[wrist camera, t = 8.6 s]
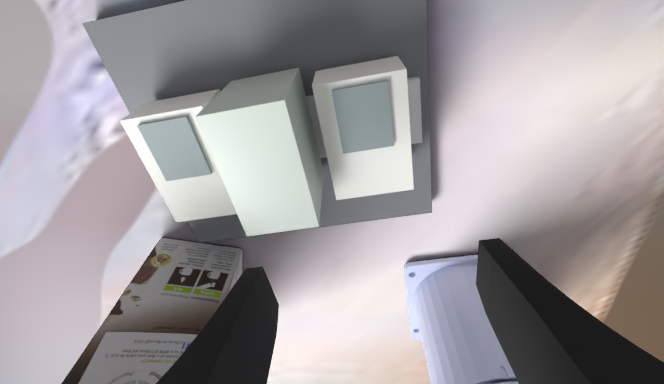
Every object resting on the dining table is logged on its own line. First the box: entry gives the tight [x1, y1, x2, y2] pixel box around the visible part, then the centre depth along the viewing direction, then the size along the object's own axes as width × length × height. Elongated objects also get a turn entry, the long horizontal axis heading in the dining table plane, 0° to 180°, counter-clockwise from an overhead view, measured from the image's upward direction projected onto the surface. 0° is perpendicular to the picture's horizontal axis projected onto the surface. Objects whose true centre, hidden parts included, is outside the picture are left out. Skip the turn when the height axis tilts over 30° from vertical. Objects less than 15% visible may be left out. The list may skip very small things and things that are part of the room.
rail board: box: [82, 0, 432, 243], centre depth 18 cm, size 14×16×4 cm
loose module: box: [195, 68, 324, 237], centre depth 16 cm, size 6×4×5 cm, turn 11°
